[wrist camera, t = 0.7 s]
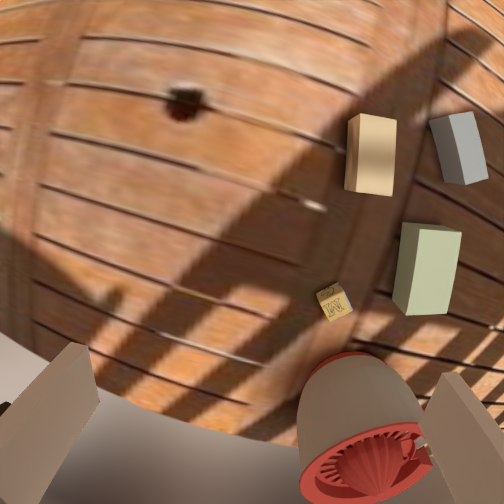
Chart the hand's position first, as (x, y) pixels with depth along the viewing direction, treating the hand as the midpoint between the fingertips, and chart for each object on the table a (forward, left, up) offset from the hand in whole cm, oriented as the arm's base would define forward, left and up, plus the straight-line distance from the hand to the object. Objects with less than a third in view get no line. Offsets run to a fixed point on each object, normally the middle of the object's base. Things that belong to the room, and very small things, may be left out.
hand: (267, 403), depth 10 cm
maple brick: (-10, +11, -27) cm, 31 cm away
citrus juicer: (+20, +14, -27) cm, 36 cm away
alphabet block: (+7, +9, -27) cm, 29 cm away
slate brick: (-13, +23, -27) cm, 38 cm away
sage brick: (+2, +20, -27) cm, 34 cm away
